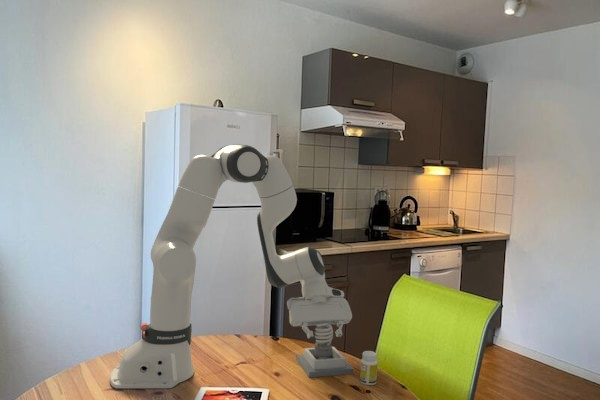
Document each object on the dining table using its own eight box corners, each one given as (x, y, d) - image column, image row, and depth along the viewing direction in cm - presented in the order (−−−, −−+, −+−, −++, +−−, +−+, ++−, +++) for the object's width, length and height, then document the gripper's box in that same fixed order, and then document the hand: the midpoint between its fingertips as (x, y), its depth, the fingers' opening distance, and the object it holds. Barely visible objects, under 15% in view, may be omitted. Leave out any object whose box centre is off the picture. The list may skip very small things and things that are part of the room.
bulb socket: (308, 377, 131) (309, 363, 131) (296, 359, 144) (296, 347, 144) (353, 373, 136) (353, 360, 135) (337, 356, 148) (337, 344, 148)
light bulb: (331, 358, 142) (333, 321, 141) (331, 366, 136) (333, 327, 136) (313, 357, 143) (315, 319, 142) (312, 364, 137) (314, 325, 136)
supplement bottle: (377, 379, 132) (379, 351, 132) (375, 386, 128) (377, 357, 127) (360, 377, 133) (362, 349, 133) (358, 384, 129) (360, 355, 128)
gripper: (288, 292, 143) (295, 334, 134) (347, 291, 149) (358, 330, 140) (283, 302, 147) (290, 343, 138) (342, 300, 153) (352, 339, 144)
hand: (325, 336), depth 139 cm, fingers open, 8 cm apart
